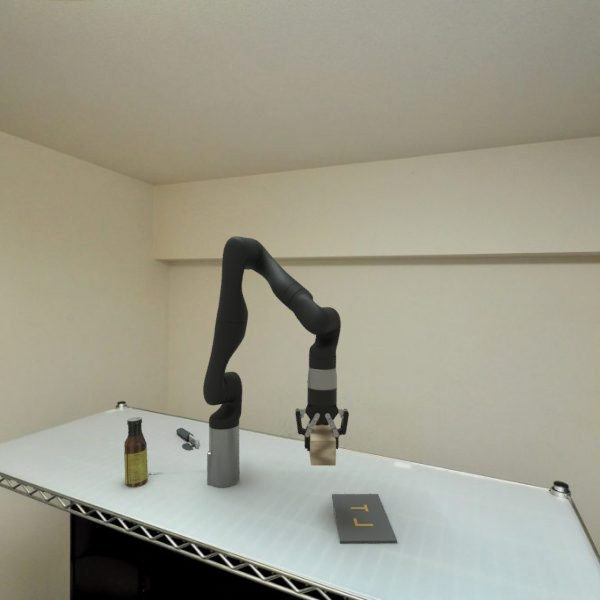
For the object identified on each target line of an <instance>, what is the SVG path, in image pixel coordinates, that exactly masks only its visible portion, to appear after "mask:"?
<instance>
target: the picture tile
mask: <svg viewBox="0 0 600 600" xmlns="http://www.w3.org/2000/svg"><path fill="white" fill-rule="evenodd" d="M331 495H332V496H331V498H332V503H333V509H334V515H335V523H336V527H337V532H338V538H339V544H342V545H343V544H348V545H349V544H351V545H352V544H398V540H397V537H396V534H395V532H394V530H393V526H392V524H391V522H390V520H389V517H388V514H387V512H386V510H385V507H384V505H383V502H382V500H381V498H380V495H379V493H333V494H331Z"/></svg>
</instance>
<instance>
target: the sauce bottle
mask: <svg viewBox="0 0 600 600" xmlns="http://www.w3.org/2000/svg"><path fill="white" fill-rule="evenodd" d="M126 422H127V423H126V424H127V437H126V439H125V441H124V446H123V447H124V452H123V453H124V482H125V486H126V487H128V488H139V487H142V486H144V485H146V484H147V482H148V477H149V475H148V474H149V472H148V447H147V441H146V439H145V436H144V433H143V430H142V427H143V426H142V423H143V419H142V417H139V416H136V417H135V416H134V417H131V418H128V419H127V421H126Z"/></svg>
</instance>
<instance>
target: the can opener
mask: <svg viewBox="0 0 600 600" xmlns="http://www.w3.org/2000/svg"><path fill="white" fill-rule="evenodd" d="M175 431H176V434H178V435H179V436H180V437H182V438H183V439H185V440H187V442H186V443H183V444H181V448H182V449H183V450H185V451H189V452H190V451H194V448H195V449H197V450H199V448H200V447H199V445H200V441H201V440H200V439H198V438H196V436H194V434H193V433H191V432H190V431H188V430H187V429H185V428H183V427H179V428H177V429H176V430H175ZM189 442H190V443H191V444H190V443H189Z"/></svg>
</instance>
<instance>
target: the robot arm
mask: <svg viewBox="0 0 600 600" xmlns="http://www.w3.org/2000/svg"><path fill="white" fill-rule="evenodd" d="M269 252H270V251H268V250H267V249H266V248H265V246H264V245H263V244H262V243H261V242H260V241H259V240H257V239H255V238H251V237H246V236H245V237H243V236H236V235H235V236H231V237H229V239H227V240H226V243H225V244H224V247H223V252H222V259H221V261H222V263H221V278H220V281H221V283H220V290H219V291H220V292H219V299H218V307H217V312H216V319H215V323H214V330H213V331H214V332H213V338H212V339H213V340H212V346H211V350H210V356H209V361H208V364H207V369H206V373H205V375H204V378H203V379H204V380H203V387H202V394H203V399H204V401H205V402H206V404H207V405H209V406H219V405H220V406H219V408H218V409H217V410H215V411H214V412H213V413H211V415H210V416H209V418H208V451H207V454H206V458H207V459H206V461H207V462H206V472H207V473H206V474H207V475H206V476H207V477H206V479H207V480H206V481H207V482H206V485H208V486H212V487H215V488H228V487H230V486H234V485H236V484H237V483H238V482H239V481H240V419H241V415H242V410H243V409H242V407H243V405H242V404H243V381H242V378H241V377H240V375H239V374H238V373H237V372H235V371H226V370H227V367H228V364H229V362H230V360H231V358H232V356H233V355H234V353H235V352H236V351H237V349H238V348H239V347H240V345H241V344H242V342H243V341H244V338H245V336H246V333H247V332H246V331H247V326H248V321H249V310H248V307H247V302H246V300H245V296H244V293H243V281H244V280H243V279H244V274H245V270H252V271H254V272H255V273H257V274H259V275H260V276H261V277H262V278H264V279H265V280H266V282H267V283H268V285H269V287H270V290H271V291H272V293H273V295H274V296H275V297H276V298H277V299H278V300H279V302H281V303H282V304H283V305H284V306H285V307H286V308H287V309H289V310H290V311H291V312H292V313H293V314H294V316H295V317H296V319H297V320H298V321H299V322H300V324H301V325H302V327H303V328H304V329H305V330H306V331H307V332H309V333H310V334H312V335H314V336H315V340H314V342H313V344H312V345H310V347H309V350H308V351H309V352H308V370H307V371H308V372H307V381H306V383H307V397H306V398H307V402H306V403H307V405H306V407H305V408H301V409H300V408H295V409H294V410H295V420H296V429H297V434H298V435H302V436H304V449H306V451H307V452H309V451H310V433H311V432H312V430H313V428H314V426H315V425H316V426H319V425H325V426H328V425H330V427H331V430H332V431H333V433H334V435H335V439H336V450H338V449H339V438H340V436H344V435H347V430H348V424H349V416H350V412H349V411H348V408H344V409H341V408H339V407H338V405H337V404H338V402H337V401H338V398H337V397H338V374H337V373H338V372H337V348H338V345H339V339H340V334H341V328H342V327H341V326H342V321H341V317H340V313H339V312H338V311H337V309H335V308H334V307H329V306H326V307H325V306H320V305H319V304H317V303H316V302H315V301H314V296H313V294H312V293H311V292H310V290H308V289H307V288H306V287H305V286H303V285H302V284H301V283H299V282H298V281H297V280H296V279H295V278H294V277H293V276H292V275H290V274H289V273H288V272H287V271H286V270H285V269H284V268H283V267H282V266H281V265H280V264H279V263H278V262H277V261H276V259H274V257H273V256H272V254H270V253H269ZM305 415H306V416H307V417H308V418H309V420H308V422H307V425H306V426H305V427H303V424H302V419H303V418H304V417H305ZM338 415H339V418H341V421H340V427H339V428H337V426H336V424H335V421H334V420H335V418H336V417H337V416H338Z"/></svg>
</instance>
